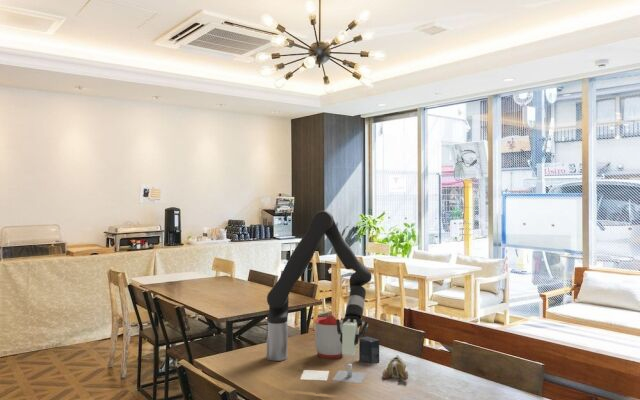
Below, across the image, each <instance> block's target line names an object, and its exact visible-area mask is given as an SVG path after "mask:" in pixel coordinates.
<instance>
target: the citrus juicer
mask: <svg viewBox="0 0 640 400" xmlns="http://www.w3.org/2000/svg"><path fill="white" fill-rule="evenodd" d="M343 319H344V318H342V319H341V320H343ZM343 324H344V323H342V325H341V326H340V328H341V331H342V329H343ZM340 336H341V335H340V334H338V332H337V318H336V317H335V316H334V315H333V314H329V315H328V316H324V317H321V316H320V317H317V318H316V319H314V344H315V349H316V352H317V356H318V357H320V359H321V358H322V359H329V360H337V359H340V358H342V357H343V356H344V355H342V344H341V342H340Z"/></svg>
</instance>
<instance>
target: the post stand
mask: <svg viewBox="0 0 640 400" xmlns="http://www.w3.org/2000/svg"><path fill="white" fill-rule="evenodd" d="M346 369H347V370H338V371H337V373H336V374H335V375H334V377H332V381H335V382H344V383H345V382H346V383H353V384H362V382H363V381H364V379H365V377H366V375H367V372H359V371H358V372H357V371H353V363H347V364H346Z"/></svg>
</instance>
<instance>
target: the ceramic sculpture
mask: <svg viewBox="0 0 640 400" xmlns="http://www.w3.org/2000/svg"><path fill="white" fill-rule="evenodd" d="M406 367H407V365H406V362H405V361H404V360H403V358H401V357H400V356H399V355H398V354H396V356H394V357H392V359H391V360H390V361H389V363H388V364H387V368H386V369H385V368H384V370H383V371H382V379H386V380H387V379H390V378H395V379H400V380H402V381H407V380H408V379H409V372H408V370H406Z"/></svg>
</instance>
